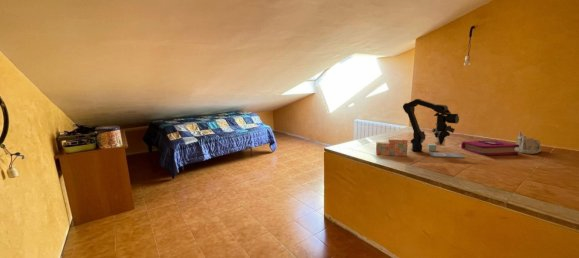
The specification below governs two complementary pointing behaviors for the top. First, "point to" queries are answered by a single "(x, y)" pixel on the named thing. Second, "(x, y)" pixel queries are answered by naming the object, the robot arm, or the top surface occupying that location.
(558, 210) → the top surface
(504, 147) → the book
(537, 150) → the ceramic cottage
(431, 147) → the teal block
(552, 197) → the top surface
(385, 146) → the stack of blocks
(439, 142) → the maple block
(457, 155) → the blueprint board
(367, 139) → the top surface
